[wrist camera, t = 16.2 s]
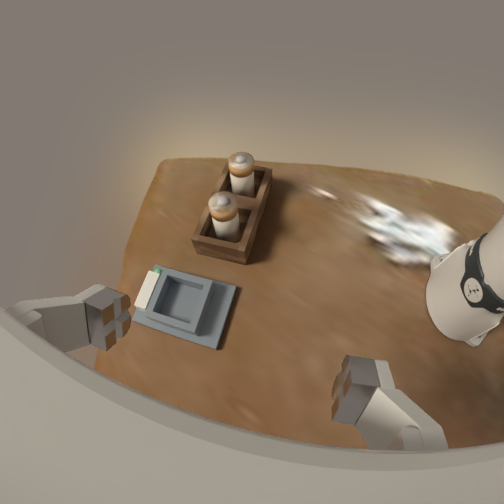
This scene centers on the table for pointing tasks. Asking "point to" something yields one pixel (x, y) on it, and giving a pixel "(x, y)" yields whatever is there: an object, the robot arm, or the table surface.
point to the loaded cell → (242, 174)
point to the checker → (184, 305)
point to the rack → (248, 219)
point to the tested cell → (225, 216)
